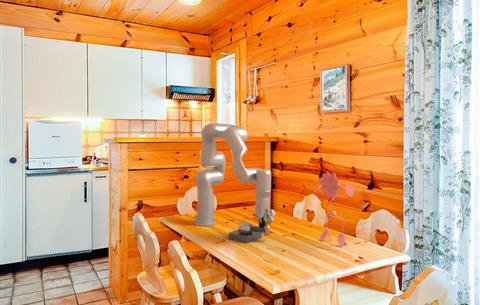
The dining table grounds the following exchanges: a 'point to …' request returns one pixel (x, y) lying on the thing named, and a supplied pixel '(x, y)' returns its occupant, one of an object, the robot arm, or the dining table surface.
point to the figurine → (331, 187)
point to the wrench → (270, 216)
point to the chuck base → (245, 236)
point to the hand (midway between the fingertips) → (262, 230)
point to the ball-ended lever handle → (252, 228)
